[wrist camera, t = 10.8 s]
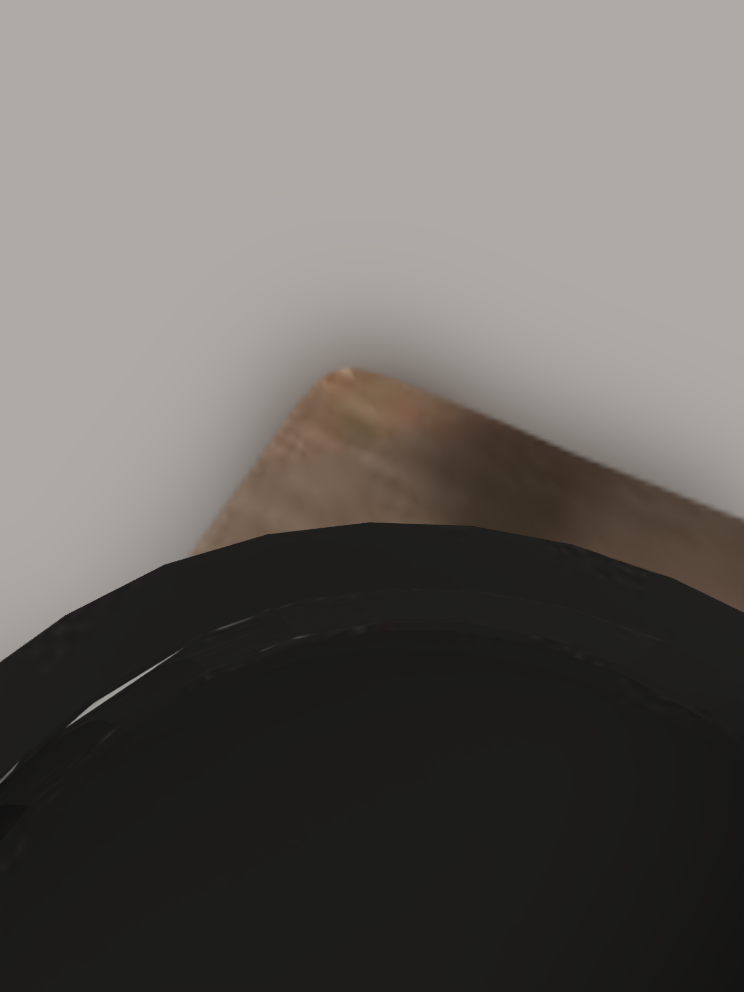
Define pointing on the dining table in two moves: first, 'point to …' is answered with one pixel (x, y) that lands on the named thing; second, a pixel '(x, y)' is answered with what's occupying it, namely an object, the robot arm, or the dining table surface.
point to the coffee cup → (377, 774)
